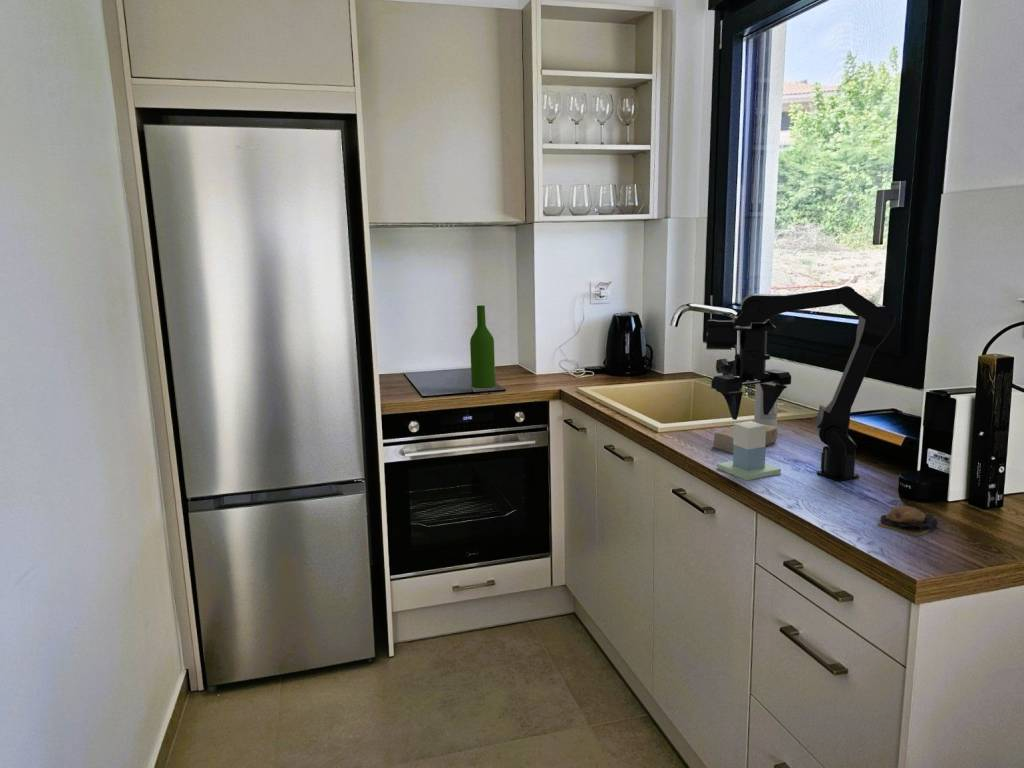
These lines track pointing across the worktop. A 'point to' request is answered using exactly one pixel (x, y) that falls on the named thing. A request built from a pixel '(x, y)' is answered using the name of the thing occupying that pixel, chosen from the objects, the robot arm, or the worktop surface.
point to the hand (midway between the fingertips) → (750, 417)
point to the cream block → (749, 435)
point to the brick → (726, 438)
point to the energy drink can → (759, 415)
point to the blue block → (749, 458)
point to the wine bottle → (482, 354)
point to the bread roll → (908, 521)
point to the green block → (750, 474)
